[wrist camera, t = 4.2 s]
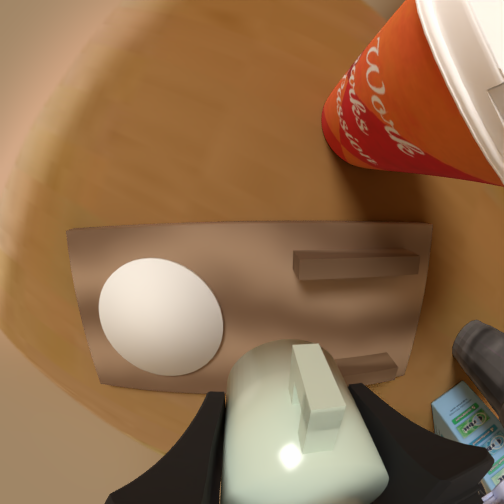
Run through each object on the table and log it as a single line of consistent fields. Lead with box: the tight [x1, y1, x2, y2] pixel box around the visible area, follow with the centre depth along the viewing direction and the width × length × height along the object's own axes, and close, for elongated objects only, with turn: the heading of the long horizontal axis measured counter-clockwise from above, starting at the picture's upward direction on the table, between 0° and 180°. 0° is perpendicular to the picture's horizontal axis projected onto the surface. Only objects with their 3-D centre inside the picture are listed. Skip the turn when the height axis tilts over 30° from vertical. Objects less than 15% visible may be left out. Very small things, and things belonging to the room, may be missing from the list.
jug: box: [220, 339, 389, 504], centre depth 9 cm, size 7×5×6 cm
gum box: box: [431, 380, 504, 498], centre depth 14 cm, size 20×5×23 cm, turn 28°
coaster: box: [99, 257, 223, 376], centre depth 19 cm, size 9×9×1 cm
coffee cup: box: [321, 0, 504, 187], centre depth 10 cm, size 8×8×15 cm
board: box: [66, 221, 433, 394], centre depth 18 cm, size 13×26×3 cm, turn 91°
